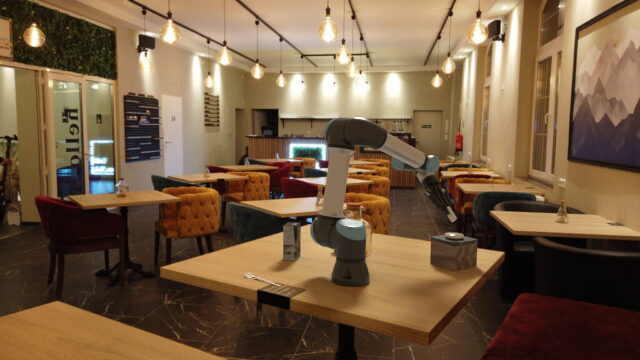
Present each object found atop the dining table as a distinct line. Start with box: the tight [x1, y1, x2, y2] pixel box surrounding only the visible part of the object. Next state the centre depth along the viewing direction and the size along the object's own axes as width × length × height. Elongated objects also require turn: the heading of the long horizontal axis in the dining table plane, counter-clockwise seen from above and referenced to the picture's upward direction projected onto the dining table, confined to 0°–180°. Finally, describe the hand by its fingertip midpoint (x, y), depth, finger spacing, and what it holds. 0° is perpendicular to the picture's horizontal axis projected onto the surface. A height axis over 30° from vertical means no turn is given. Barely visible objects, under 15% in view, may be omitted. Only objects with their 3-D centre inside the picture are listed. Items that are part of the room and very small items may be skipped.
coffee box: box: [282, 221, 302, 262], centre depth 210 cm, size 9×6×16 cm
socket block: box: [429, 234, 479, 272], centre depth 201 cm, size 14×14×12 cm
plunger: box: [444, 232, 465, 240], centre depth 201 cm, size 8×8×13 cm
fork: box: [243, 271, 281, 287], centre depth 178 cm, size 3×20×2 cm, turn 50°
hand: (454, 220), depth 200 cm, fingers closed
